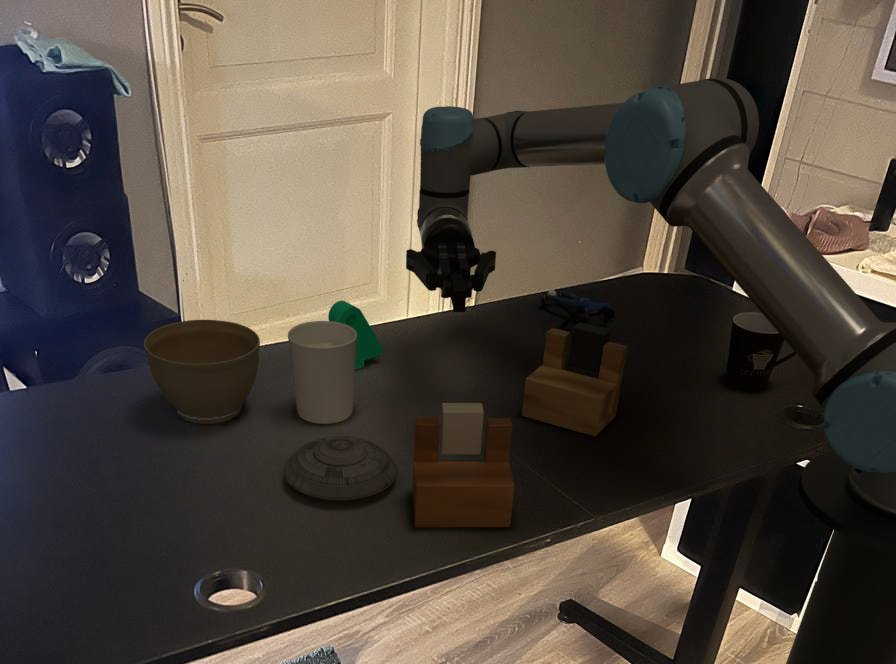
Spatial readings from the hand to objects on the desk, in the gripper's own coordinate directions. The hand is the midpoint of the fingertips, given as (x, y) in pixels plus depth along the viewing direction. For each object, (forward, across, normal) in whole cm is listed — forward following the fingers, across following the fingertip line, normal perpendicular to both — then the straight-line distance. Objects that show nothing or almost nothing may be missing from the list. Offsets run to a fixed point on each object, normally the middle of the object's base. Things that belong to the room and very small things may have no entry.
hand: (459, 301), depth 124 cm
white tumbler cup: (-12, +18, -21) cm, 30 cm away
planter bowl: (-12, +35, -21) cm, 43 cm away
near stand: (+16, 0, -21) cm, 27 cm away
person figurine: (-49, -26, -21) cm, 60 cm away
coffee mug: (-22, -51, -21) cm, 59 cm away
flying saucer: (+8, +16, -21) cm, 28 cm away
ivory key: (+11, 0, -15) cm, 19 cm away
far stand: (-11, -18, -21) cm, 30 cm away
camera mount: (-30, +16, -21) cm, 40 cm away
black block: (-15, -21, -15) cm, 30 cm away
